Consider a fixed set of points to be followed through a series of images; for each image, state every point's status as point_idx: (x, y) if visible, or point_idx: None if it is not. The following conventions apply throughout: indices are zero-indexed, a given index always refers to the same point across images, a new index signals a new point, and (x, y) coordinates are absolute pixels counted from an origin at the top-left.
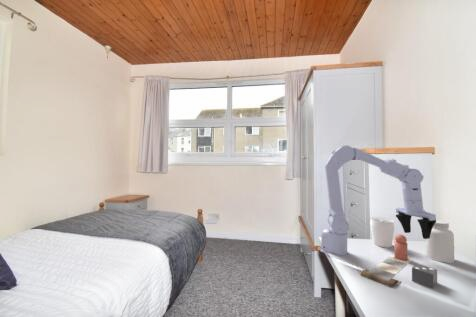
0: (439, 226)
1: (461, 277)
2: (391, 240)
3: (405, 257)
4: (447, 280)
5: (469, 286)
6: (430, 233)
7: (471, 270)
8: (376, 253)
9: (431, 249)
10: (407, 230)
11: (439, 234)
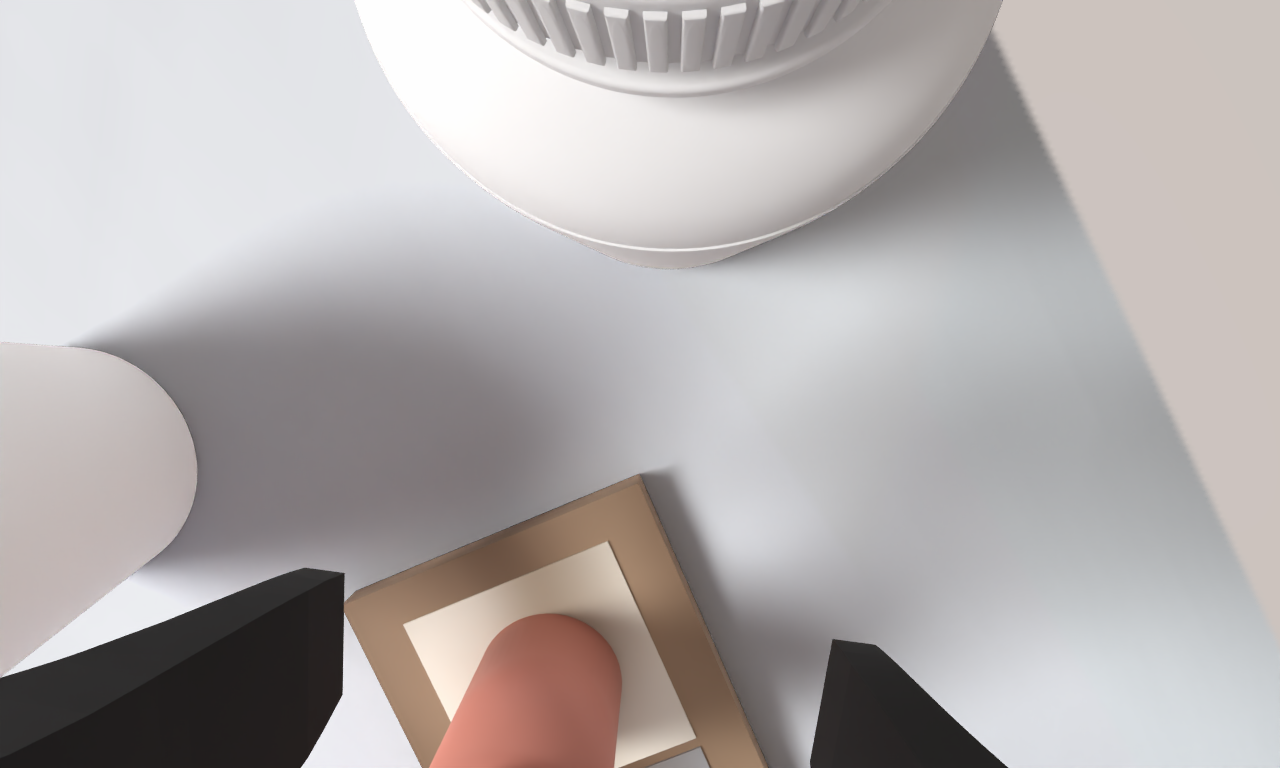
0: (854, 4)
1: (1063, 388)
2: (106, 465)
3: (618, 715)
4: (1055, 625)
5: (1212, 539)
6: (943, 718)
7: None
8: None
9: (658, 265)
10: (309, 683)
11: (848, 190)
